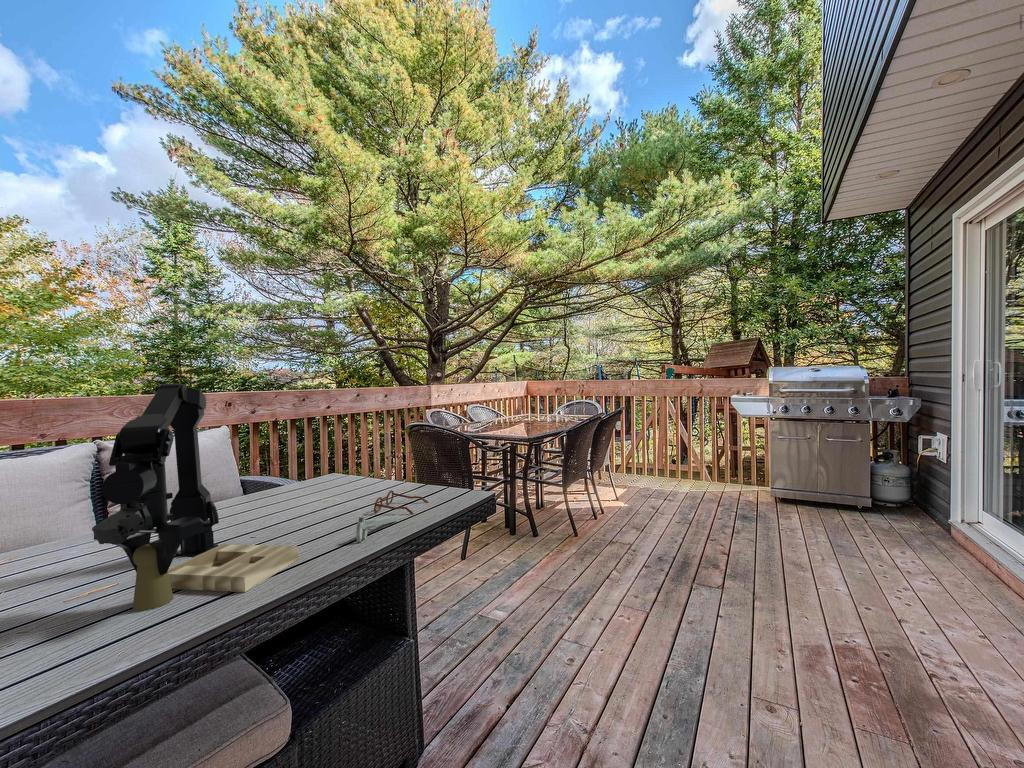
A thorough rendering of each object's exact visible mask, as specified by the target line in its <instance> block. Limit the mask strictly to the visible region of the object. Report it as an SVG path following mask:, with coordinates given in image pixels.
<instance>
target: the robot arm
mask: <svg viewBox="0 0 1024 768" xmlns="http://www.w3.org/2000/svg"><path fill="white" fill-rule="evenodd" d="M154 391H155V394H154V395H153V396H152V398H151V400H150V402H149V403H148V405H147V406H146V408H145V409H144V410H143V413H142V414H141V416H140V417H137V418H134V419H132V420H128V422H126V423H125V424H124V425H123V426H122V427H121V428H120V430H119V432H118V433H116V435H115V439H114V443H113V446H112V451H111V454H110V458H109V461H108V465H109V467H115V468H114V469H115V471H114V472H112V473H110V474H108V475H107V476H106V477H105V479H104V480H103V482H102V484H101V493H102V494H101V495H102V496H103V497H104V498H105V499H106V500H107V501H109V502H110V503H111V504H116V505H120V507H119V510H118V511H117V512H115V513H113V514H111V515H109V516H107V518H105V519H103V520H102V521H100V522H98V523H97V524H95V525H94V526H93V527H91V531H92V532H93V541H94V540H95V541H97V542H98V544H99V545H105V544H108V545H109V544H111V545H113V546H117V547H120V548H122V549H123V551H124V552H125V554H126V556H127V557H128V560H129V561H130V563H131V565H132V567H133V569H134V571H135V573H137V565H136V564H135V563H134V561H133V554H134V552H135V550H136V549H137V548H139V547H141V546H144V545H147V544H149V545H151V546H152V547H154V548H155V549H156V554H157V562H158V569H159V573H160V575H164V574H166V573H167V571H168V569H169V568H171V567H170V566H171V565H172V563H173V560H174V558H175V556H187V557H188V556H189V557H190V556H191V557H192V556H193V557H195V556H198V555H200V554H202V553H204V552H206V551H209V550H211V549H213V548H215V547H217V546H219V544H218V543H217V544H216V543H215V539H214V530H213V527H214V526H215V525H218V524H220V521H219V520H220V519H219V513H218V509H217V506H215V502H214V501H213V500H212V497H211V492H210V491H209V490H208V489H207V488H206V487H205V486H204V485H203V483H202V482H203V481H202V474H201V473H202V472H201V471H202V470H201V458H200V446H199V433H198V425H199V424H200V422H201V420H202V419H203V417H204V416H205V409H206V408H207V398H206V396H205V394H204V393H203V392H202V391H201V390H199V389H196V388H192V387H188V386H187V385H186V384H182V383H163V384H162V383H161V384H160V385H157V386H156V387H155V390H154ZM170 427H171V428H172V429H173V434H172V431H171V429H170ZM173 442H174V445H175V446H174V448H175V458H176V470H177V481H178V491H177V493H176V494H175V496H174V497H173V495H174V494H173V492H167V477H166V475H167V474H166V459H167V457H169V456H170V453H171V449H172V446H173ZM170 499H172V500H171V502H170V506H171V507H170V508H169V510H168V500H170ZM168 511H169V512H168ZM152 534H155V535H156V534H158V536H157V539H155V540H153V541H151V537H152ZM179 548H180V550H178V549H179Z"/></svg>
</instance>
